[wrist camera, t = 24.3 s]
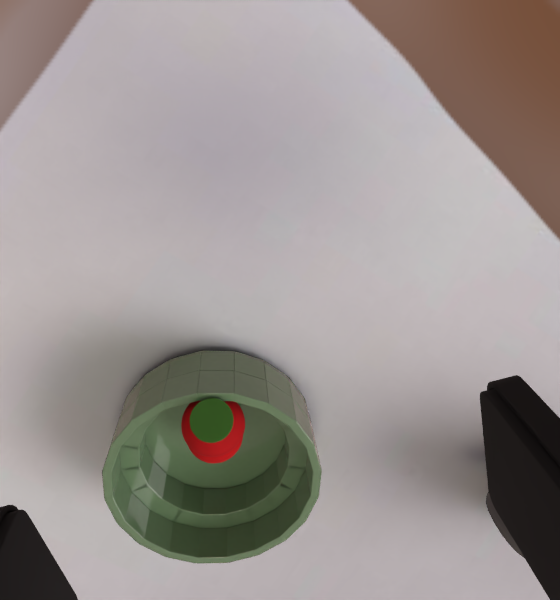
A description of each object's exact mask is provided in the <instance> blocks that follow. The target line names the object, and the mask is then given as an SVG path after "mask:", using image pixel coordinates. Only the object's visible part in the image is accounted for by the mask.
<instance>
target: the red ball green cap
mask: <svg viewBox="0 0 560 600" xmlns="http://www.w3.org/2000/svg"><path fill="white" fill-rule="evenodd" d="M242 440H243V437H242V439H241V441H240V442H239V444H238V445H237V446H236V447H235V448H234V449H233V450H232V451H230V452H229V453H227V454H225V455H222V456H219V457H206V456H202V455H200V454H197V453H196V452H194V451H193V450H192V449H191V448H190V447H189V446H188V447H189V449H190V451H191V452H192V453H193V455H194V456H196V457H197V458H198V459H200V460H201V461H204V462H207V463H221V462H224V461H226V460H228V459H230V458H231V457H232V456H234V455H235V454H236V452H237V451H238V449H239V448H240V446H241V443H242Z"/></svg>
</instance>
